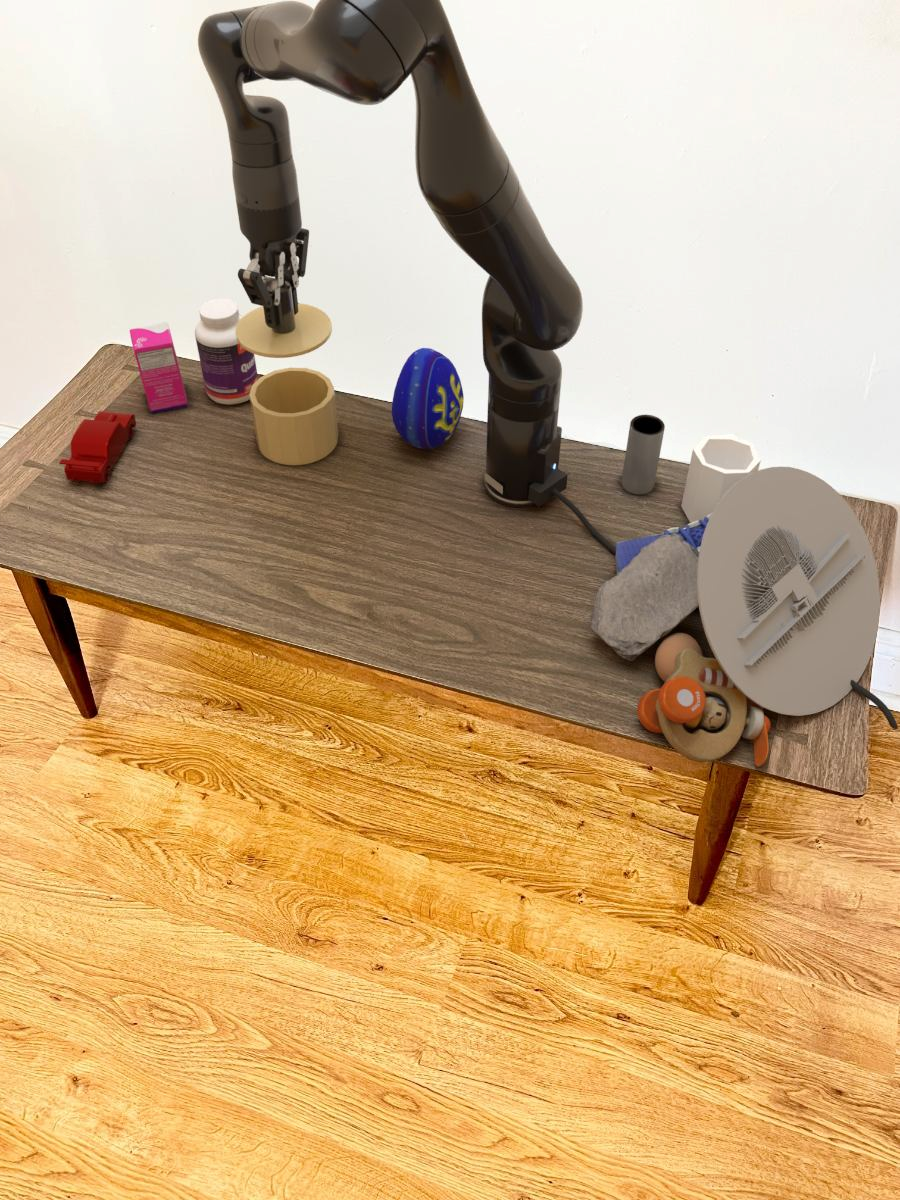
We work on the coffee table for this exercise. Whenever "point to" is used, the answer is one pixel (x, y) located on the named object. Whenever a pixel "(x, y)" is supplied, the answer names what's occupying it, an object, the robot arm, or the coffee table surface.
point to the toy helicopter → (703, 711)
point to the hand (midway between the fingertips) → (282, 319)
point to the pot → (294, 415)
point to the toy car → (98, 446)
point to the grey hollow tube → (642, 454)
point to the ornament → (427, 399)
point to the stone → (647, 596)
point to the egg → (673, 653)
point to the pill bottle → (224, 353)
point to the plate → (788, 591)
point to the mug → (716, 472)
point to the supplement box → (158, 367)
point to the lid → (284, 329)
